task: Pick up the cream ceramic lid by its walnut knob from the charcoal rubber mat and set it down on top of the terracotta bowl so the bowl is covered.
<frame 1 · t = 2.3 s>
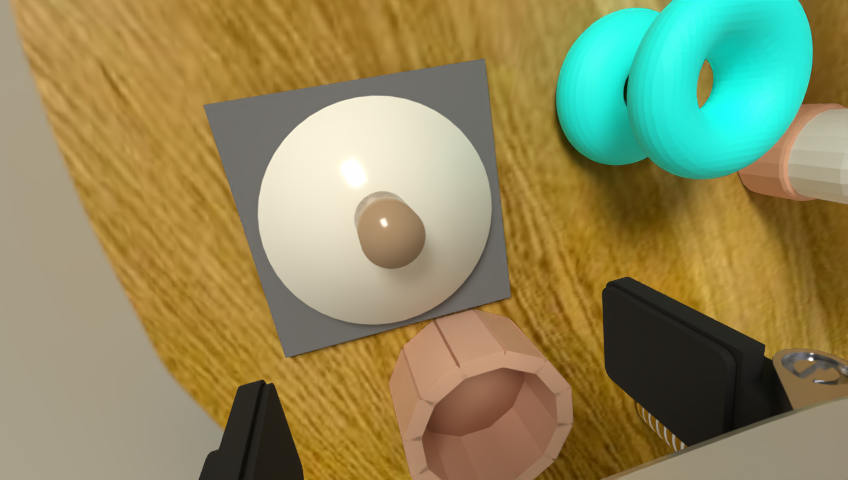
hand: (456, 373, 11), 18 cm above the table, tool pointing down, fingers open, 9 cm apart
bowl: (464, 378, 33), on the table
donuts: (609, 92, 29), on the table
mat: (379, 213, 28), on the table
lid: (380, 215, 27), point 1 cm above the table, touching mat
pepper shaker: (771, 150, 34), on the table
water bottle: (662, 390, 39), on the table
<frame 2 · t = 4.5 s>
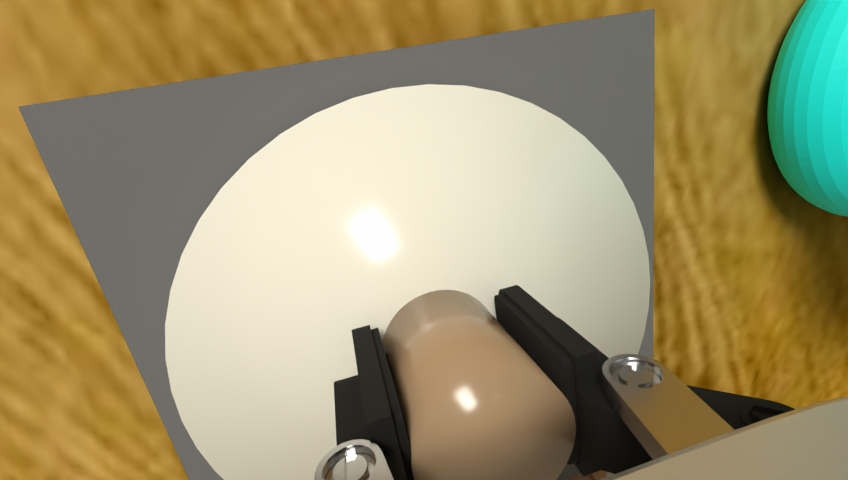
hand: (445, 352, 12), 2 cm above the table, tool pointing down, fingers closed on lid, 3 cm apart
donuts: (846, 82, 16), on the table
mat: (427, 320, 14), on the table
lid: (431, 329, 14), point 1 cm above the table, touching gripper, mat
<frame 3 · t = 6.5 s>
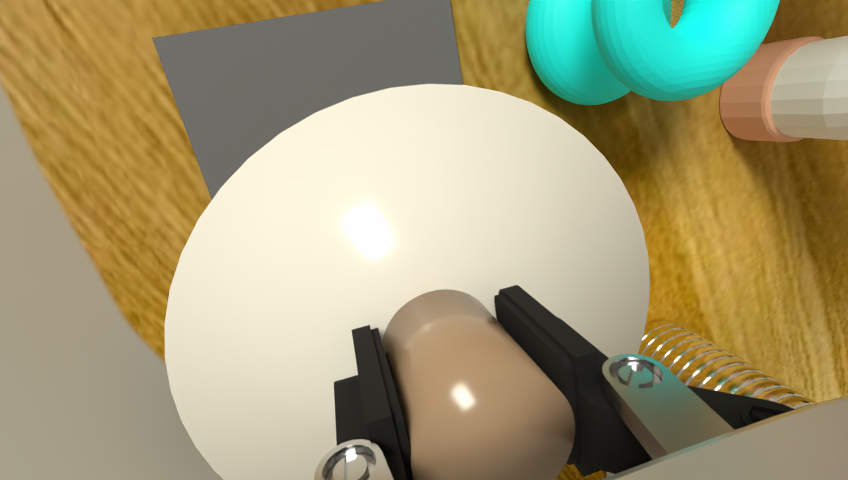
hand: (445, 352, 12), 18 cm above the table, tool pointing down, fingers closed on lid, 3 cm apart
donuts: (582, 30, 28), on the table
mat: (345, 158, 27), on the table
lid: (431, 328, 14), point 16 cm above the table, touching gripper
pepper shaker: (754, 93, 33), on the table
water bottle: (650, 349, 38), on the table
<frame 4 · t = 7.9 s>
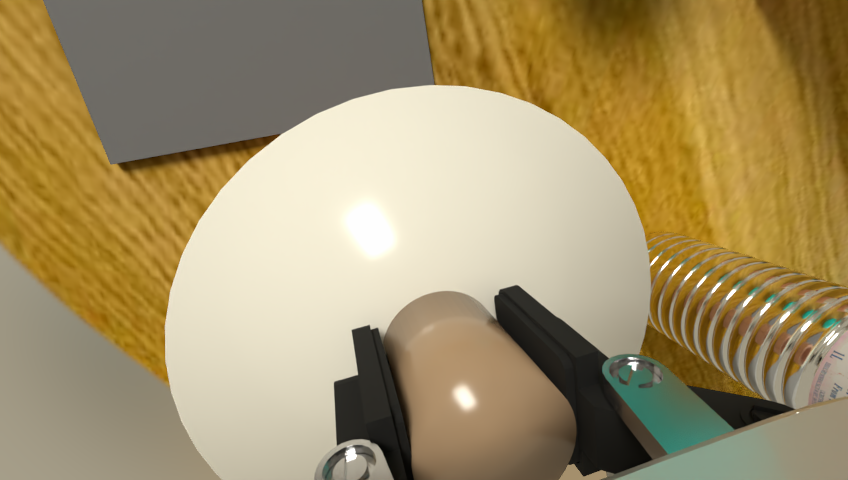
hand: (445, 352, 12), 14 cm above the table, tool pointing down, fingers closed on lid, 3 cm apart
lid: (432, 330, 14), point 12 cm above the table, touching gripper
water bottle: (646, 271, 31), on the table
when the fingers open (9 cm above the table, at t = 9.0 s): lid drops 1 cm, resting on bowl.
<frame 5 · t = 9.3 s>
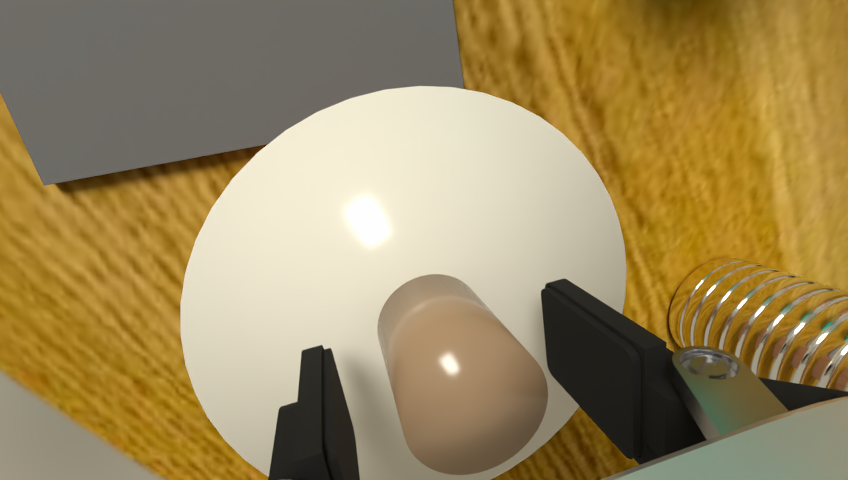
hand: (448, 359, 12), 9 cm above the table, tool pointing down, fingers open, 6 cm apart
lid: (424, 311, 15), point 6 cm above the table, touching bowl
water bottle: (705, 303, 26), on the table
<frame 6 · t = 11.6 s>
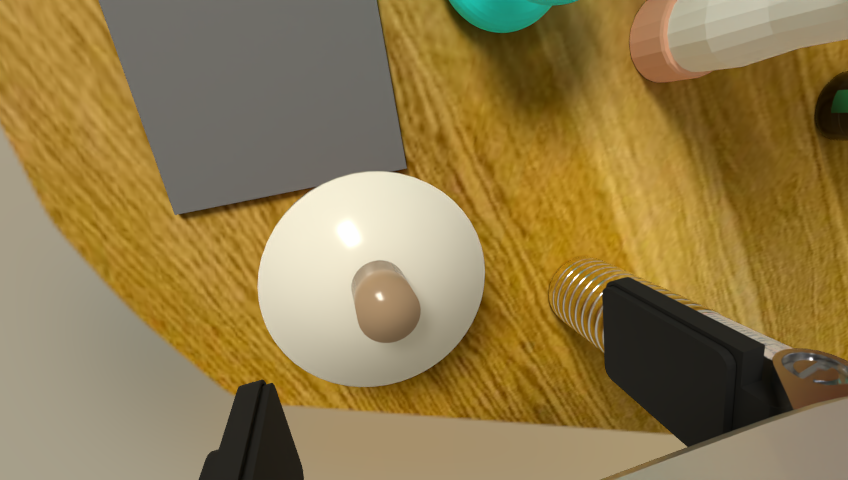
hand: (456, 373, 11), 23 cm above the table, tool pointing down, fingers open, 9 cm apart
supplement bottle: (836, 106, 42), on the table
mat: (266, 70, 29), on the table
lid: (376, 281, 28), point 6 cm above the table, touching bowl
pepper shaker: (663, 38, 36), on the table
water bottle: (575, 287, 40), on the table
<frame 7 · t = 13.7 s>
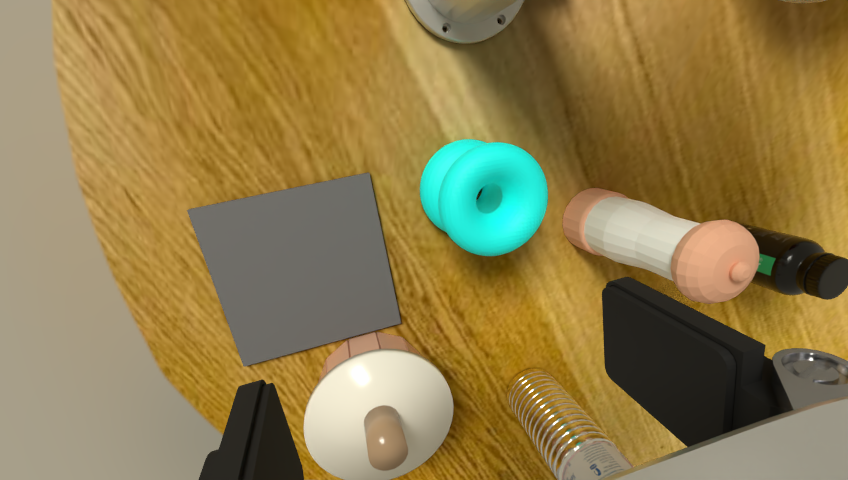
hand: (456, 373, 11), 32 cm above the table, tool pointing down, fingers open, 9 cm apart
bowl: (373, 380, 48), on the table
supplement bottle: (729, 247, 55), on the table
donuts: (461, 186, 44), on the table
mat: (305, 270, 42), on the table
lid: (380, 414, 42), point 6 cm above the table, touching bowl
pepper shaker: (588, 217, 49), on the table
water bottle: (527, 387, 54), on the table
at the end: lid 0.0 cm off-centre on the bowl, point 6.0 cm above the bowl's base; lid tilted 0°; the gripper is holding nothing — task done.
